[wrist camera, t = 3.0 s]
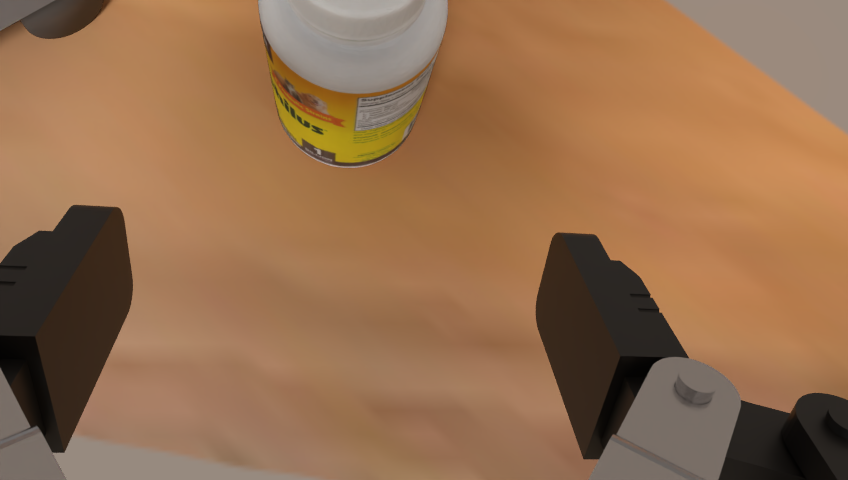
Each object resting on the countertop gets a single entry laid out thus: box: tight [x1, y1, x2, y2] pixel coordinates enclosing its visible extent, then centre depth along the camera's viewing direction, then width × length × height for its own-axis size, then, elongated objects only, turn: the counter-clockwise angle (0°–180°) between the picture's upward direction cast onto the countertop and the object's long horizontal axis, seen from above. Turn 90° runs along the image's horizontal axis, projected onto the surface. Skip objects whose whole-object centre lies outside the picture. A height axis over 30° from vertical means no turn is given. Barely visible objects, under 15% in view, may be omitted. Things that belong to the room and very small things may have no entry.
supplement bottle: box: [258, 0, 448, 168], centre depth 22 cm, size 6×6×10 cm
